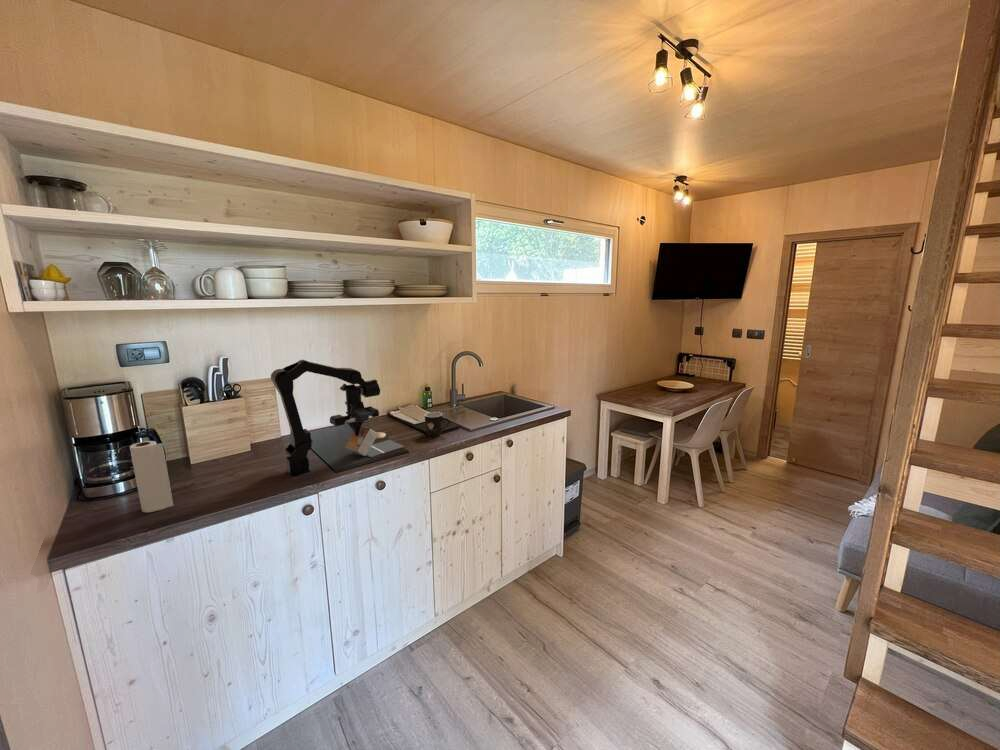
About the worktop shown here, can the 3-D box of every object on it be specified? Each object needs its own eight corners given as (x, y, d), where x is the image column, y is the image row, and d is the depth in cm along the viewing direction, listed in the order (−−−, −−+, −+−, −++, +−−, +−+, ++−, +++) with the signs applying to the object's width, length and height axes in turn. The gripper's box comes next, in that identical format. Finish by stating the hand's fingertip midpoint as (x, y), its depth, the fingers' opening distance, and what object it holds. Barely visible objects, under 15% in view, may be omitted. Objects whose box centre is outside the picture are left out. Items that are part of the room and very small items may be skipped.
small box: (344, 447, 165) (357, 425, 170) (353, 452, 169) (365, 430, 174) (357, 451, 161) (370, 428, 166) (366, 456, 165) (378, 433, 170)
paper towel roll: (137, 510, 124) (125, 445, 120) (160, 501, 129) (149, 439, 125) (151, 515, 121) (138, 449, 117) (173, 506, 126) (162, 442, 122)
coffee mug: (421, 434, 191) (420, 414, 189) (435, 430, 198) (434, 410, 196) (437, 440, 184) (436, 419, 182) (451, 435, 190) (450, 415, 188)
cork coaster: (371, 441, 183) (371, 440, 183) (362, 436, 189) (362, 435, 189) (389, 436, 189) (389, 435, 189) (379, 431, 195) (379, 430, 195)
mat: (370, 458, 164) (370, 456, 164) (356, 450, 172) (356, 448, 172) (404, 447, 175) (404, 446, 175) (389, 440, 183) (389, 439, 183)
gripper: (340, 408, 149) (343, 447, 152) (384, 398, 162) (387, 435, 165) (327, 402, 157) (331, 440, 160) (371, 394, 170) (373, 428, 173)
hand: (356, 436), depth 164 cm, fingers closed
